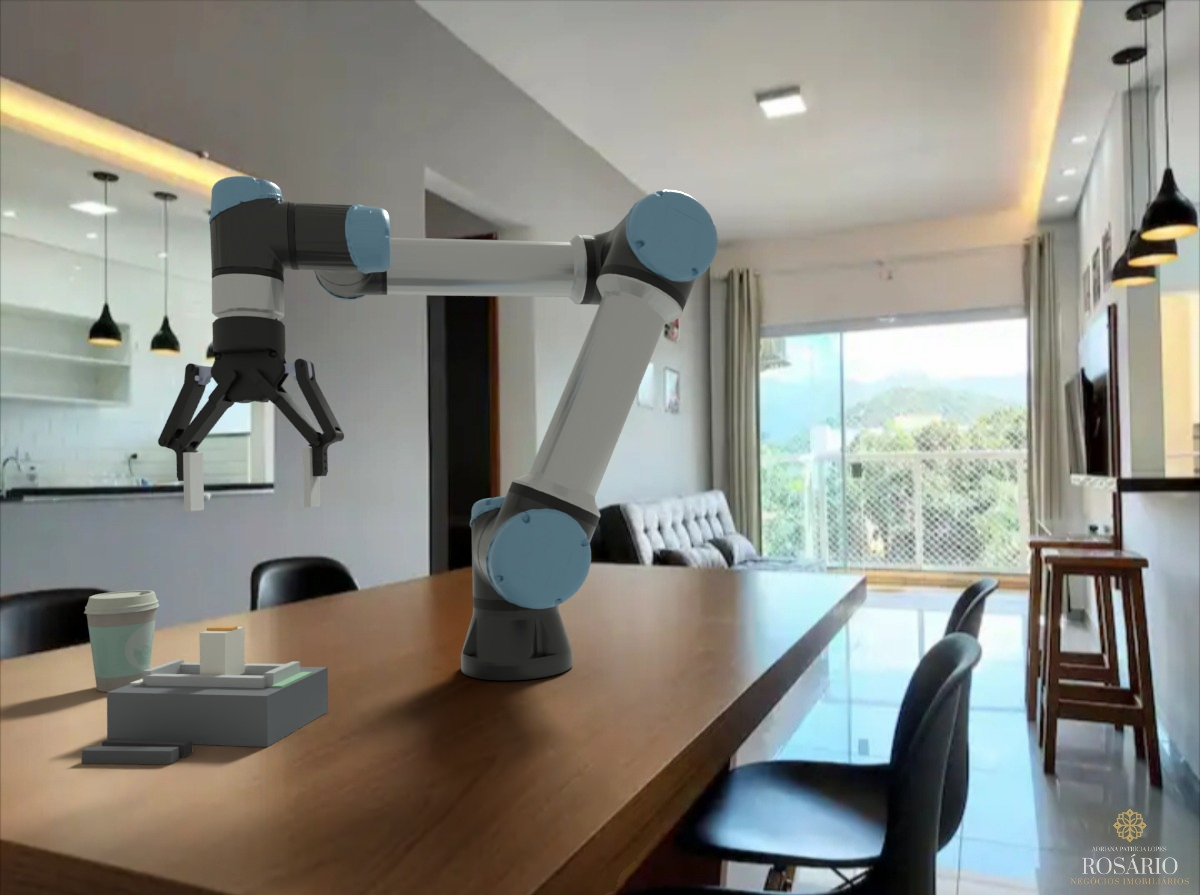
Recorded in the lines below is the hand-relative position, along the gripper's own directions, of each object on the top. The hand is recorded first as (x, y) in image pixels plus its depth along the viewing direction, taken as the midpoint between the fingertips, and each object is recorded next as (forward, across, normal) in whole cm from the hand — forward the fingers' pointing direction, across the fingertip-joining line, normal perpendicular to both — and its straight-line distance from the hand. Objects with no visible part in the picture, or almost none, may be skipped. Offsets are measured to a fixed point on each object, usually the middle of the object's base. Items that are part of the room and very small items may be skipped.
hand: (253, 509), depth 91 cm
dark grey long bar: (+23, +6, +11) cm, 26 cm away
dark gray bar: (+23, +6, +13) cm, 27 cm away
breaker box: (+23, +3, +2) cm, 23 cm away
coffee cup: (+23, +26, -15) cm, 38 cm away
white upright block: (+18, +3, +2) cm, 18 cm away
